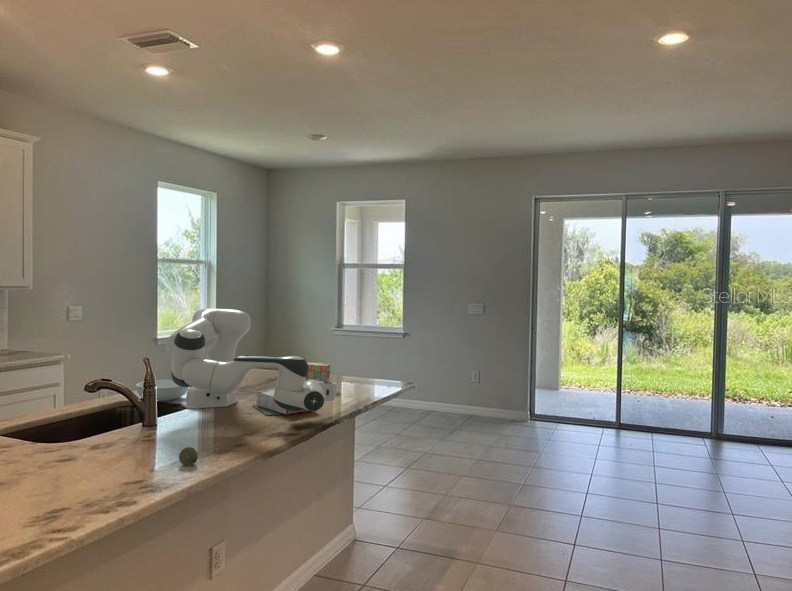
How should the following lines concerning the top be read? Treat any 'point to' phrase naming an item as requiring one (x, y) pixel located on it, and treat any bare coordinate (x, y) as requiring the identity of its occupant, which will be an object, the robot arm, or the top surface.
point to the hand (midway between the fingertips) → (309, 384)
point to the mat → (267, 411)
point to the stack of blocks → (318, 372)
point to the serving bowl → (165, 390)
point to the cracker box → (272, 402)
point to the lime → (188, 456)
